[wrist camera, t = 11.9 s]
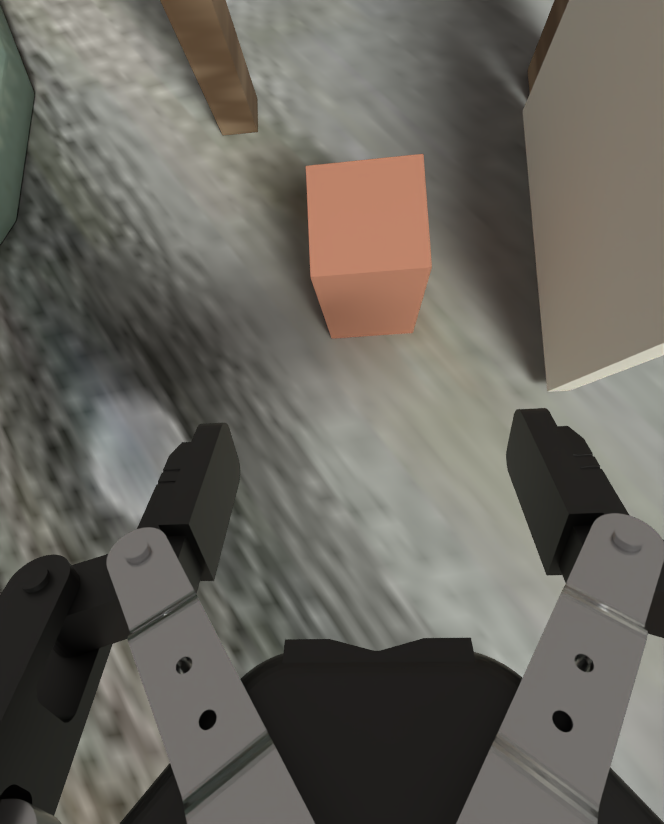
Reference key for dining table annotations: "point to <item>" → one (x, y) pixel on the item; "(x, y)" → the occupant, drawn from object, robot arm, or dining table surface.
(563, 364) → the door
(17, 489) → the dining table surface
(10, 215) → the tea set
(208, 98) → the door frame
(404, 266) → the salmon orange block
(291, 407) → the dining table surface
